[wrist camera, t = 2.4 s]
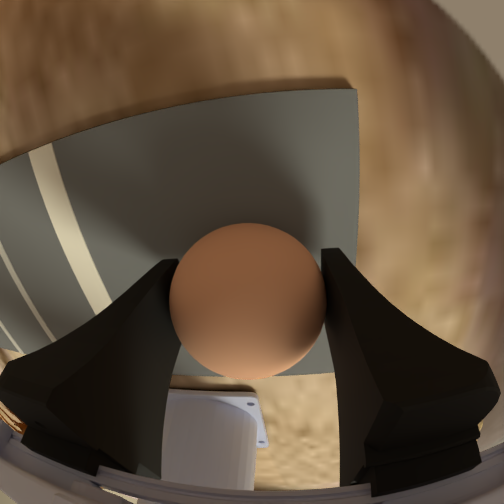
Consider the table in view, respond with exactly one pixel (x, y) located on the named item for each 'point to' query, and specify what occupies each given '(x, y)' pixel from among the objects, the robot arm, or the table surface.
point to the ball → (248, 301)
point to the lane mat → (171, 203)
